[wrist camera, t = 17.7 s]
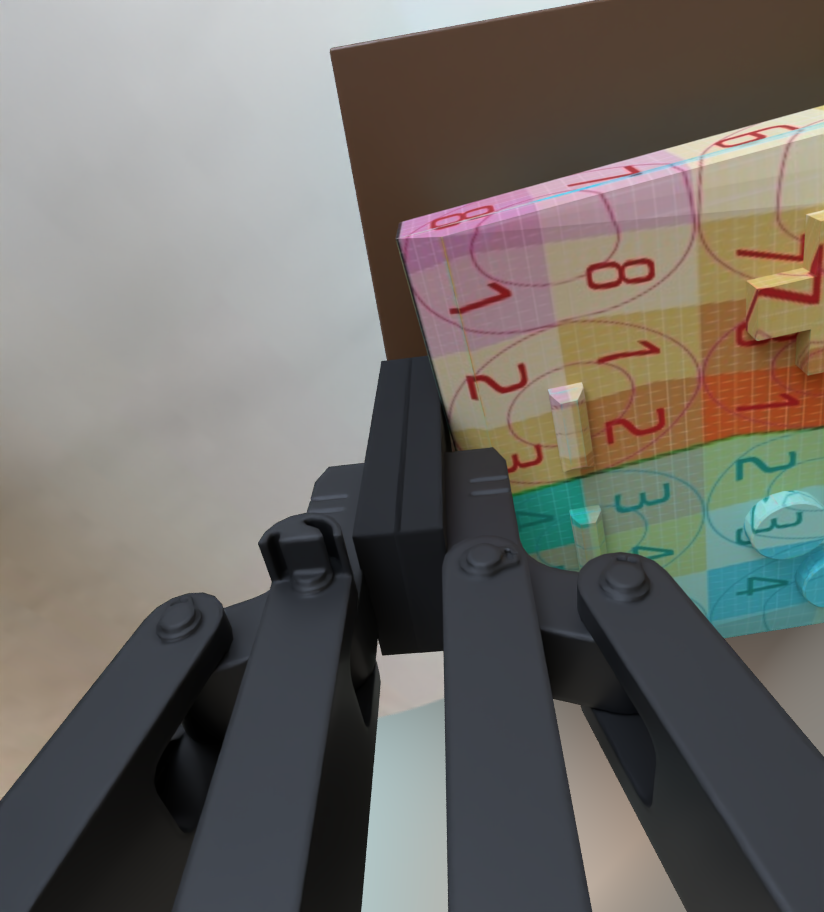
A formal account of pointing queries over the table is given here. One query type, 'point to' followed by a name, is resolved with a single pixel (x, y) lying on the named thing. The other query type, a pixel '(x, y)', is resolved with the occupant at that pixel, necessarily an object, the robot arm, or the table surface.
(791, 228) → the puzzle game
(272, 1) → the table surface
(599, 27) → the step shelf
